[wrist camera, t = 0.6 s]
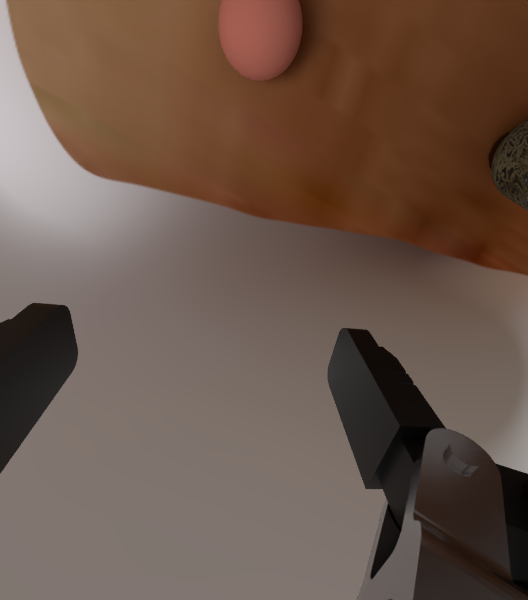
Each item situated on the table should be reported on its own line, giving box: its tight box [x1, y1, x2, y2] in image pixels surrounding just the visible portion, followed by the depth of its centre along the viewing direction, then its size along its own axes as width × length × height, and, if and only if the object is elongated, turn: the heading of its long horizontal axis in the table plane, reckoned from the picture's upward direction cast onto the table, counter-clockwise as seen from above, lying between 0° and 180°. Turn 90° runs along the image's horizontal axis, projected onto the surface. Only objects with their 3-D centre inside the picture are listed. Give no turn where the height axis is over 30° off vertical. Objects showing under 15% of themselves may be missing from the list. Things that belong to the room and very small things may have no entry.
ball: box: [218, 0, 302, 81], centre depth 19 cm, size 6×6×6 cm
